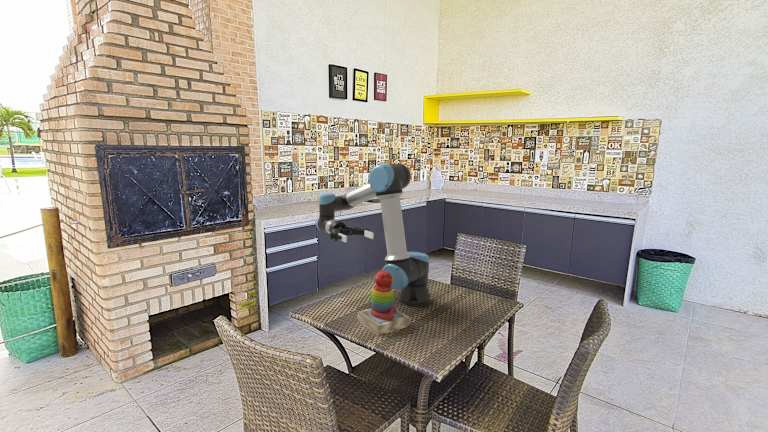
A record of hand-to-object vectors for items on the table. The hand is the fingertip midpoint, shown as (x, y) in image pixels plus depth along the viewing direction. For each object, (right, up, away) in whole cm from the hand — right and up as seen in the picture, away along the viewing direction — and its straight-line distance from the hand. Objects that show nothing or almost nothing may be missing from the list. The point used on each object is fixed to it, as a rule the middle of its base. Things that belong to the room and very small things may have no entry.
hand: (360, 237), depth 165 cm
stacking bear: (+10, -30, -10) cm, 34 cm away
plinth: (+10, -34, -9) cm, 37 cm away
